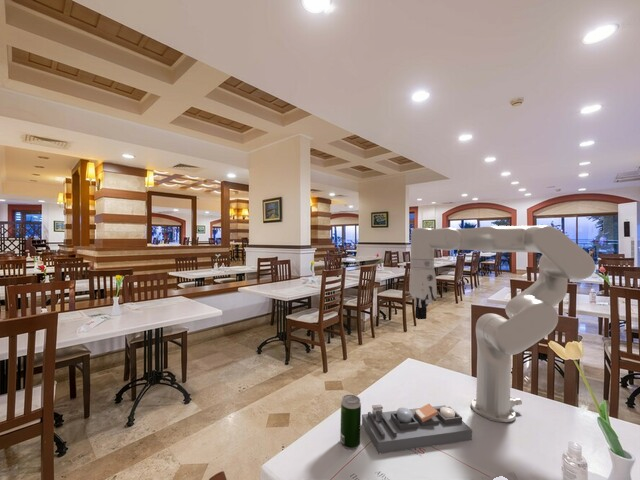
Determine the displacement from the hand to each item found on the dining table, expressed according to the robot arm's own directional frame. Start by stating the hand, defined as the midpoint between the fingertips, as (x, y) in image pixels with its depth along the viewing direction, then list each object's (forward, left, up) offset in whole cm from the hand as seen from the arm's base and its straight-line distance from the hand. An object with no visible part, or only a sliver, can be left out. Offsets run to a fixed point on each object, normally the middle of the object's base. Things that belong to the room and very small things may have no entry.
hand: (420, 318), depth 98 cm
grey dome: (+13, +13, -25) cm, 31 cm away
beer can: (+29, +14, -29) cm, 44 cm away
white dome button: (-1, +13, -26) cm, 29 cm away
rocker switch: (+6, +13, -24) cm, 28 cm away
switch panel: (+9, +13, -29) cm, 33 cm away
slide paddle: (+20, +10, -26) cm, 34 cm away
